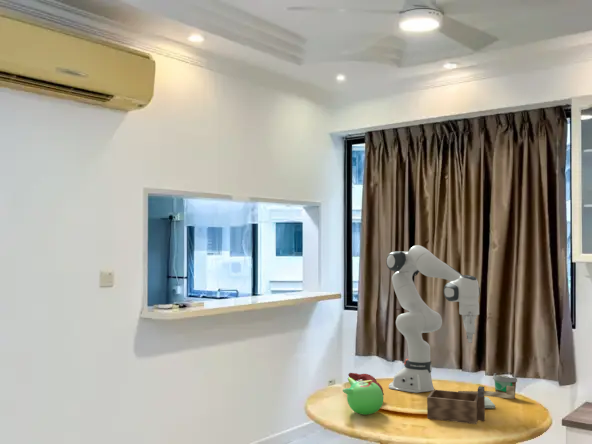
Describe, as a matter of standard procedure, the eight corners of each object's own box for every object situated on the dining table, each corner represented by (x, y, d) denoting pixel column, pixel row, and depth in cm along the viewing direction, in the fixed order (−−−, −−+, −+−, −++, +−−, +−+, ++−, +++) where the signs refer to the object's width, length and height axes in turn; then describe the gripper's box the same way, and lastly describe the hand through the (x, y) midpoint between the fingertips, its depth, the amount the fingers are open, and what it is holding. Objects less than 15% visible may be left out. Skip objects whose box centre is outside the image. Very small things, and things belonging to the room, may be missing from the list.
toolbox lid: (451, 409, 270) (450, 395, 270) (445, 400, 284) (445, 387, 284) (495, 410, 268) (495, 396, 268) (487, 401, 282) (487, 388, 282)
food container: (487, 395, 292) (487, 374, 293) (495, 393, 296) (495, 372, 296) (510, 400, 283) (509, 379, 283) (517, 398, 286) (517, 377, 286)
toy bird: (382, 420, 252) (382, 385, 252) (342, 418, 255) (342, 383, 255) (384, 408, 269) (384, 375, 270) (347, 406, 273) (346, 374, 273)
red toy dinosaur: (357, 396, 306) (339, 376, 301) (368, 382, 309) (351, 363, 305) (388, 411, 280) (369, 390, 276) (400, 396, 283) (382, 374, 279)
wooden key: (481, 395, 252) (481, 384, 252) (481, 394, 254) (481, 383, 254) (514, 398, 247) (514, 387, 247) (514, 397, 249) (514, 386, 249)
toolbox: (427, 418, 255) (427, 386, 255) (433, 409, 267) (433, 379, 268) (482, 425, 246) (482, 392, 246) (485, 415, 259) (485, 384, 259)
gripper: (478, 313, 266) (478, 345, 266) (474, 308, 286) (474, 337, 286) (463, 313, 267) (463, 344, 267) (460, 308, 287) (461, 337, 287)
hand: (469, 340), depth 277 cm, fingers open, 8 cm apart
